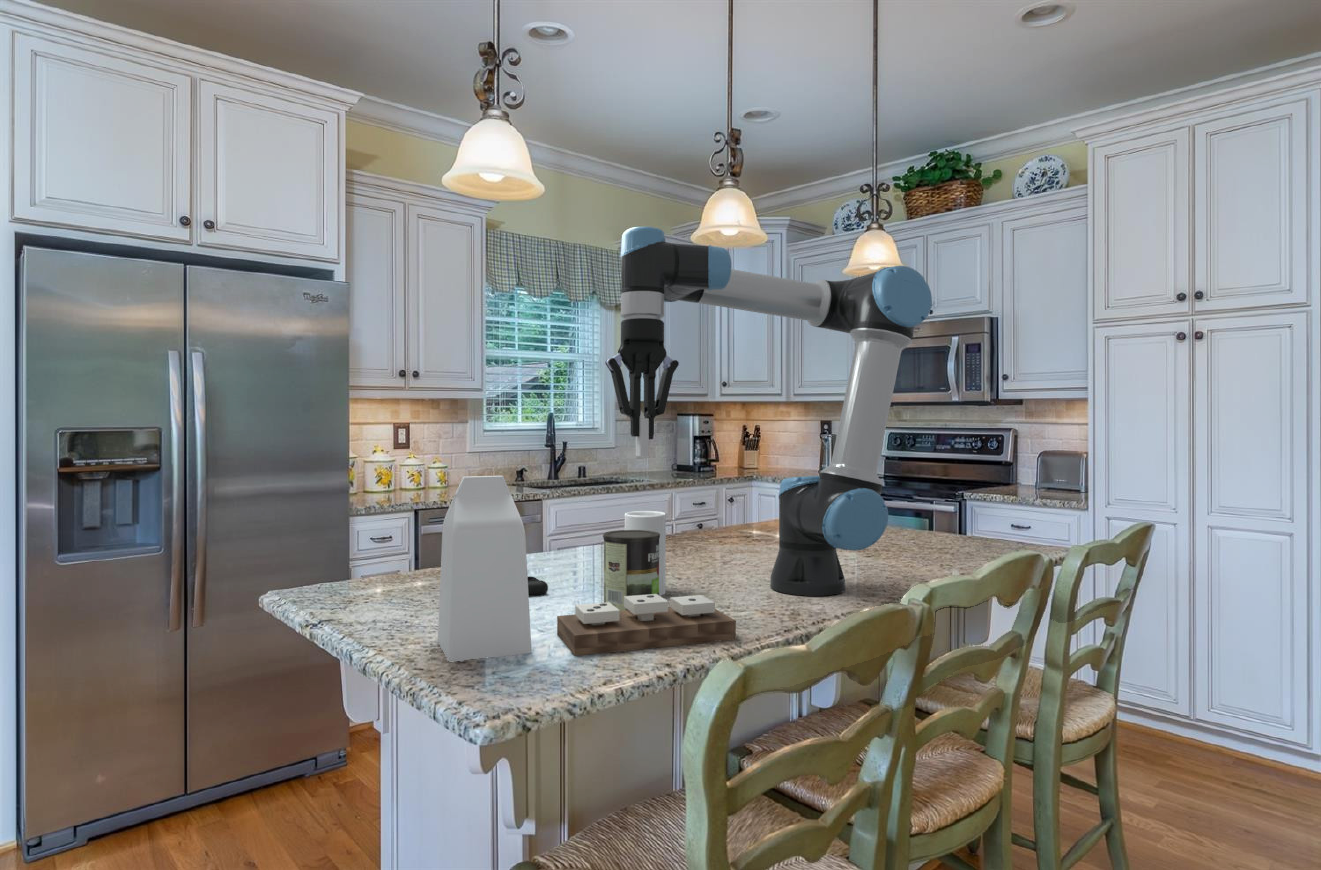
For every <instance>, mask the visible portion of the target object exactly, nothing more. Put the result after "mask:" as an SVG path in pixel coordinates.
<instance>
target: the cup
mask: <svg viewBox="0 0 1321 870" xmlns="http://www.w3.org/2000/svg"><path fill="white" fill-rule="evenodd" d="M666 518H667V515H666V513H665V512H664V511H658V510H657V511H656V510H654V511H653V510H635V511H628V512H625V513H624V530H645V531H653V532H657V533H659V534H660V538H659V596H661V597H662V596H664V595H665V594H666V566H667V565H666V560H667V559H666V554H667V553H666V550H667V549H666V547H667V546H666V544H667V542H666V539H667V538H666V535H667V533H666V532H667V531H666V530H667V529H666V524H667V523H666V522H667V521H666Z"/></svg>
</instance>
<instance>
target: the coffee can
mask: <svg viewBox="0 0 1321 870" xmlns="http://www.w3.org/2000/svg"><path fill="white" fill-rule="evenodd" d="M602 538H603V603H607V602H610V603H611V604H612V605H613V606H615V607H616V608H617V609H618V610H619V611H623V610H628V609H627V608H625V607H624V596H635V595H648V594H657V595H659V538H660V534H659V533H657V532H653V531H645V530H625V529H623V530H622V529H621V530H612V531H607V532H603V533H602Z"/></svg>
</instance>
